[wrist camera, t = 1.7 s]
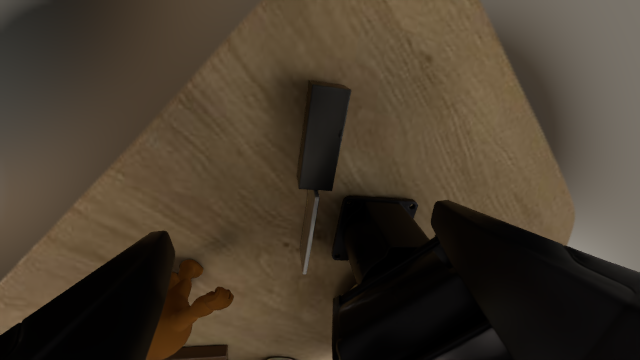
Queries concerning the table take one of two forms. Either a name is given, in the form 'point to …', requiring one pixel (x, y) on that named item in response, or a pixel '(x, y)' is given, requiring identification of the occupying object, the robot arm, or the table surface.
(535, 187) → the table surface
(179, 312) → the toy figurine
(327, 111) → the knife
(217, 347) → the board
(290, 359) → the eye dropper bottle
